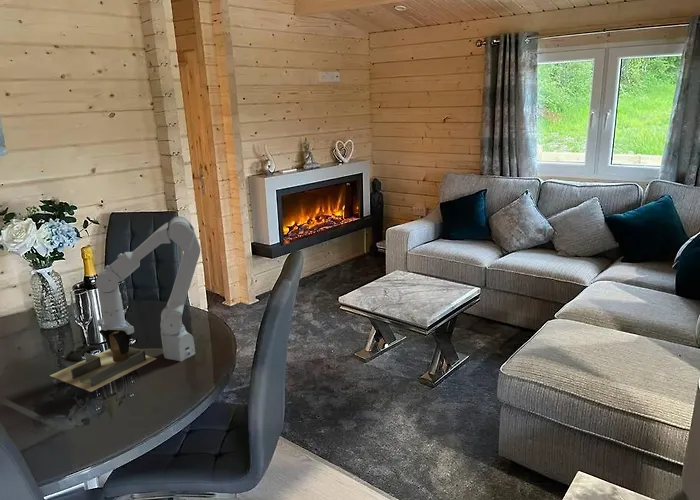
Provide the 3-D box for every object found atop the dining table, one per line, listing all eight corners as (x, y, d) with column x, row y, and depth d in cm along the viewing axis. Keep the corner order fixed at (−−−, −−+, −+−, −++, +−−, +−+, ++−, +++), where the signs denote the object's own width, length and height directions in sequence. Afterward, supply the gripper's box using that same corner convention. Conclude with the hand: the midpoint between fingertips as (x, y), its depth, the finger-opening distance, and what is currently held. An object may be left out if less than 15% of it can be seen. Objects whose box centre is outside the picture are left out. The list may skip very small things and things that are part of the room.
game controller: (82, 362, 161) (67, 349, 160) (73, 373, 162) (59, 360, 162) (102, 349, 170) (89, 336, 170) (94, 359, 172) (81, 346, 171)
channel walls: (146, 360, 160) (144, 351, 159) (92, 386, 145) (90, 376, 145) (113, 349, 168) (112, 341, 167) (60, 374, 153) (58, 364, 153)
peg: (131, 357, 159) (127, 332, 157) (119, 363, 155) (114, 338, 153) (122, 354, 161) (118, 330, 159) (110, 360, 158) (105, 335, 156)
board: (157, 361, 161) (156, 357, 161) (91, 395, 143) (90, 390, 143) (116, 348, 171) (115, 345, 171) (50, 378, 153) (49, 374, 153)
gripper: (85, 310, 155) (93, 351, 158) (116, 318, 147) (123, 361, 151) (106, 302, 160) (113, 342, 164) (137, 309, 153) (143, 352, 157)
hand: (119, 351), depth 158 cm, fingers closed on peg, 4 cm apart
